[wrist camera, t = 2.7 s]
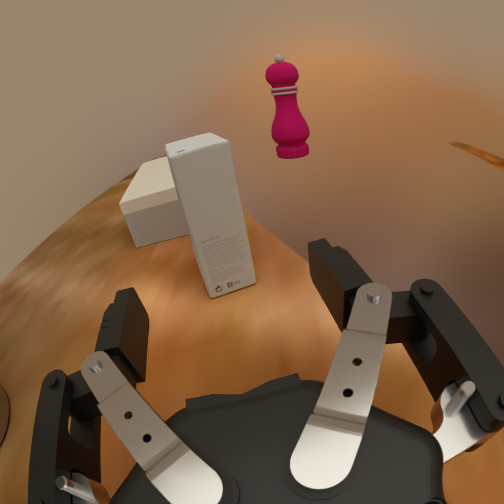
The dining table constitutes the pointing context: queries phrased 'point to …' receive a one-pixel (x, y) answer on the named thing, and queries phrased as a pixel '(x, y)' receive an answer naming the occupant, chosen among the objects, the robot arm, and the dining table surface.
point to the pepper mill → (287, 111)
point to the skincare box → (212, 211)
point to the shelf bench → (153, 205)
